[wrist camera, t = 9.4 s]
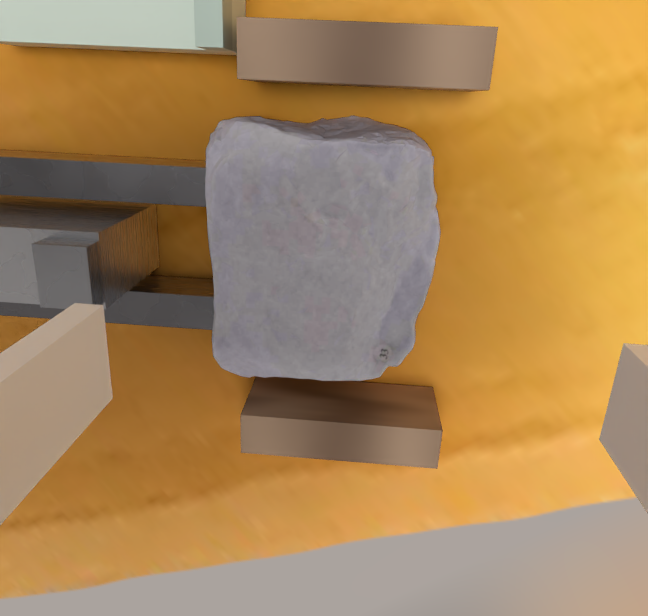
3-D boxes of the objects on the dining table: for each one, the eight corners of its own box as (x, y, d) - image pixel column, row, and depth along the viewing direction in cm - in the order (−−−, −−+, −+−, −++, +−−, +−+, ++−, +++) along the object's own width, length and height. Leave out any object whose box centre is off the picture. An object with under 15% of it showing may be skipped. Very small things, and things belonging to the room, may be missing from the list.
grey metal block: (0, 255, 28) (-113, 304, 21) (-10, 194, 27) (-132, 225, 20) (159, 265, 27) (94, 318, 21) (156, 204, 26) (85, 238, 20)
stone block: (425, 113, 26) (204, 110, 25) (462, 122, 21) (194, 118, 20) (405, 344, 30) (218, 351, 29) (432, 391, 26) (213, 401, 25)
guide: (-82, 289, 29) (-122, 306, 26) (-115, 143, 26) (-162, 148, 24) (227, 310, 28) (214, 330, 25) (224, 161, 25) (209, 167, 23)
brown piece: (256, 408, 30) (241, 452, 26) (257, 29, 23) (236, 16, 20) (428, 421, 29) (437, 468, 25) (476, 38, 23) (498, 27, 19)
